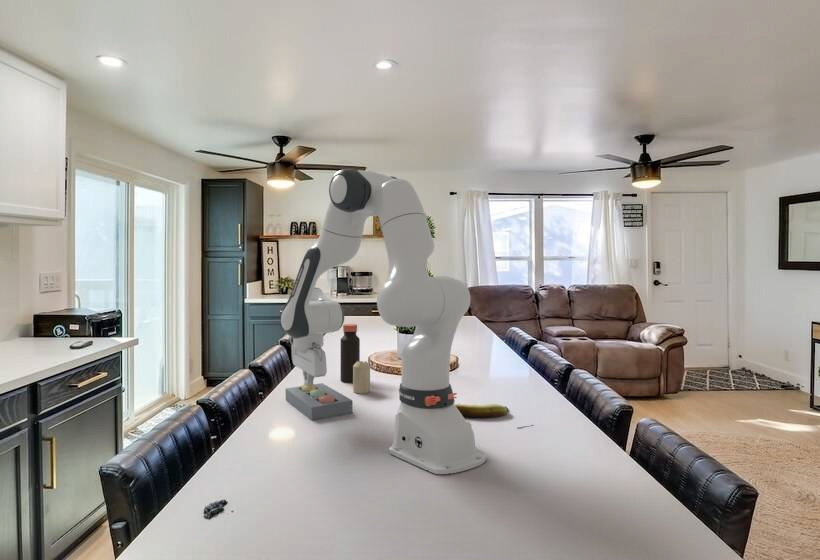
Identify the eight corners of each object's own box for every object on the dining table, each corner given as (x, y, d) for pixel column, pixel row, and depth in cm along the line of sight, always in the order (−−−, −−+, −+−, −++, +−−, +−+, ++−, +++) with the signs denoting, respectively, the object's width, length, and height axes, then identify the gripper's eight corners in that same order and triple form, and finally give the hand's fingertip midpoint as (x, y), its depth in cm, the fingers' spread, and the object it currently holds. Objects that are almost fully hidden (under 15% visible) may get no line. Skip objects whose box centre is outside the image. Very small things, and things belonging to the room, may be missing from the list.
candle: (371, 389, 154) (371, 359, 154) (368, 394, 148) (368, 363, 148) (355, 388, 154) (355, 359, 154) (351, 393, 149) (351, 362, 149)
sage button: (327, 401, 135) (327, 391, 135) (313, 404, 133) (313, 393, 133) (321, 398, 139) (321, 388, 139) (308, 400, 136) (308, 390, 136)
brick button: (336, 408, 129) (336, 397, 129) (322, 410, 127) (322, 399, 127) (330, 404, 133) (330, 393, 133) (317, 406, 130) (316, 396, 130)
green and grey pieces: (423, 435, 114) (423, 420, 114) (414, 402, 142) (414, 390, 141) (561, 433, 117) (561, 418, 117) (526, 400, 144) (526, 388, 144)
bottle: (338, 379, 167) (338, 324, 167) (356, 377, 170) (356, 323, 169) (343, 383, 161) (343, 326, 160) (362, 381, 164) (362, 325, 163)
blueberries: (245, 504, 82) (245, 493, 82) (227, 525, 74) (227, 513, 74) (207, 503, 82) (207, 492, 82) (185, 525, 74) (185, 513, 74)
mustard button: (318, 395, 141) (318, 386, 141) (304, 397, 139) (304, 388, 139) (313, 392, 145) (312, 383, 144) (300, 394, 142) (299, 384, 142)
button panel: (352, 412, 130) (352, 400, 130) (311, 420, 123) (311, 407, 123) (322, 393, 148) (322, 383, 148) (285, 399, 142) (285, 388, 142)
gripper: (332, 344, 134) (332, 392, 135) (306, 335, 151) (307, 377, 152) (311, 346, 131) (311, 395, 131) (288, 336, 148) (288, 379, 148)
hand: (308, 385), depth 142 cm, fingers closed, pressing on mustard button
